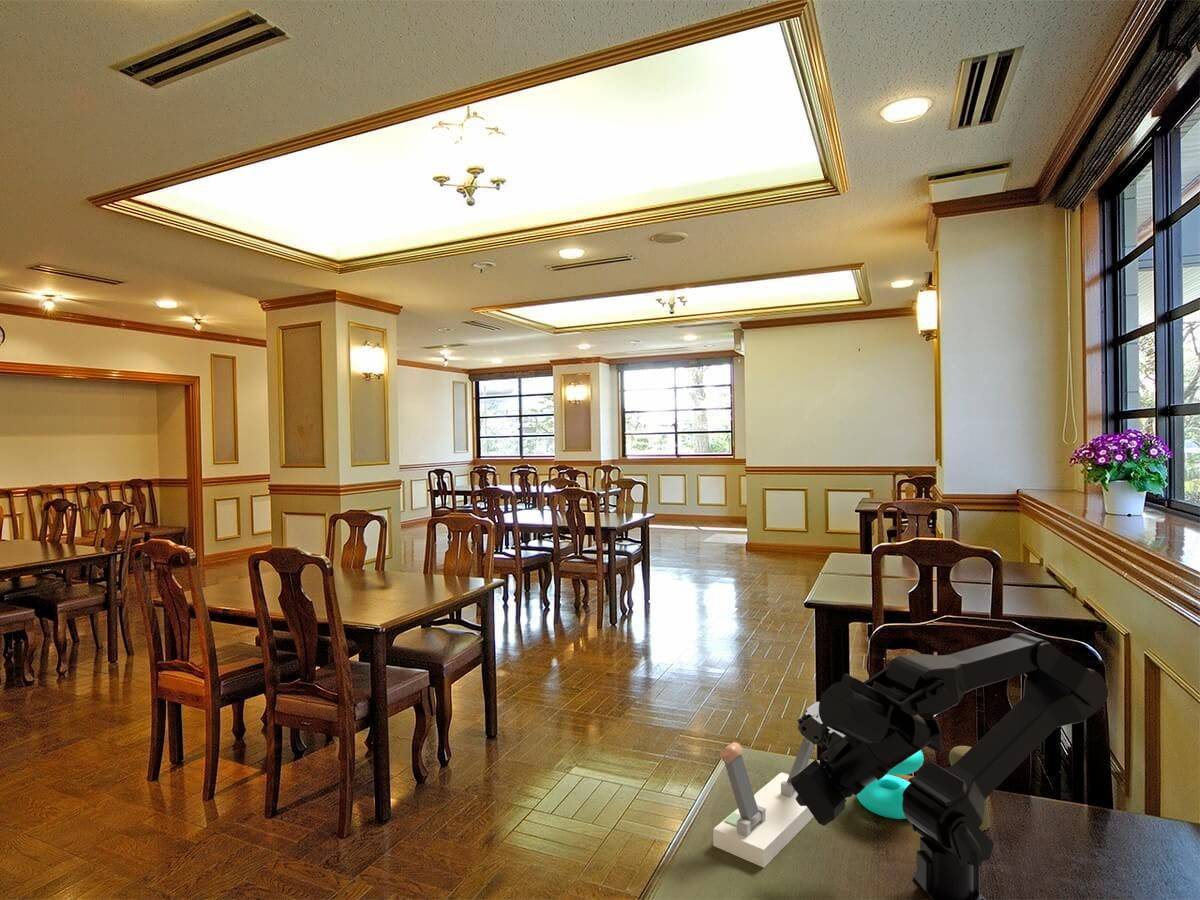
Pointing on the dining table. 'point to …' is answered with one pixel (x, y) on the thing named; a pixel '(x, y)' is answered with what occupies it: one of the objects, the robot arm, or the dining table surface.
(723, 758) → the terracotta lever
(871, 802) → the teal curved piece
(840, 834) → the dining table surface
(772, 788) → the switch unit
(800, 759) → the grey lever
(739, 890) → the dining table surface
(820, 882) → the dining table surface
